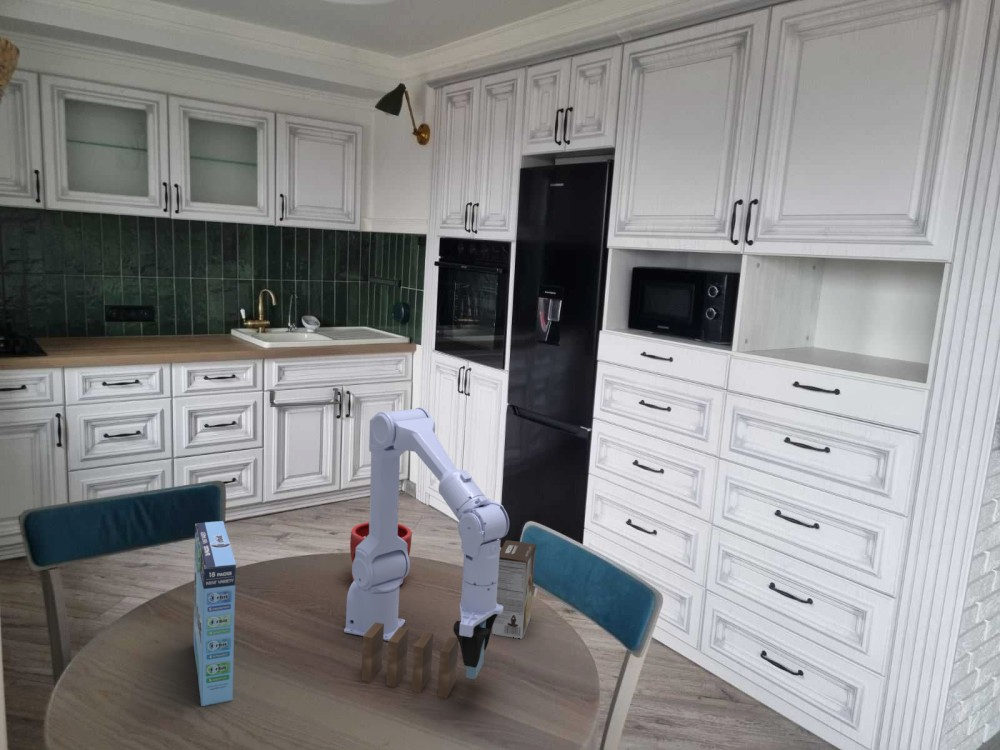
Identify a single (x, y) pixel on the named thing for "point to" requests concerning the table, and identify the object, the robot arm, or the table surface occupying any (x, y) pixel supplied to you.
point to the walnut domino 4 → (448, 667)
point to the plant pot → (363, 530)
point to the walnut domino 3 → (422, 661)
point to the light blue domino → (472, 671)
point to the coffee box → (515, 588)
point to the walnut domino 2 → (397, 657)
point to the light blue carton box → (214, 612)
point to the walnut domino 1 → (372, 651)
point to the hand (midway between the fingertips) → (475, 656)
